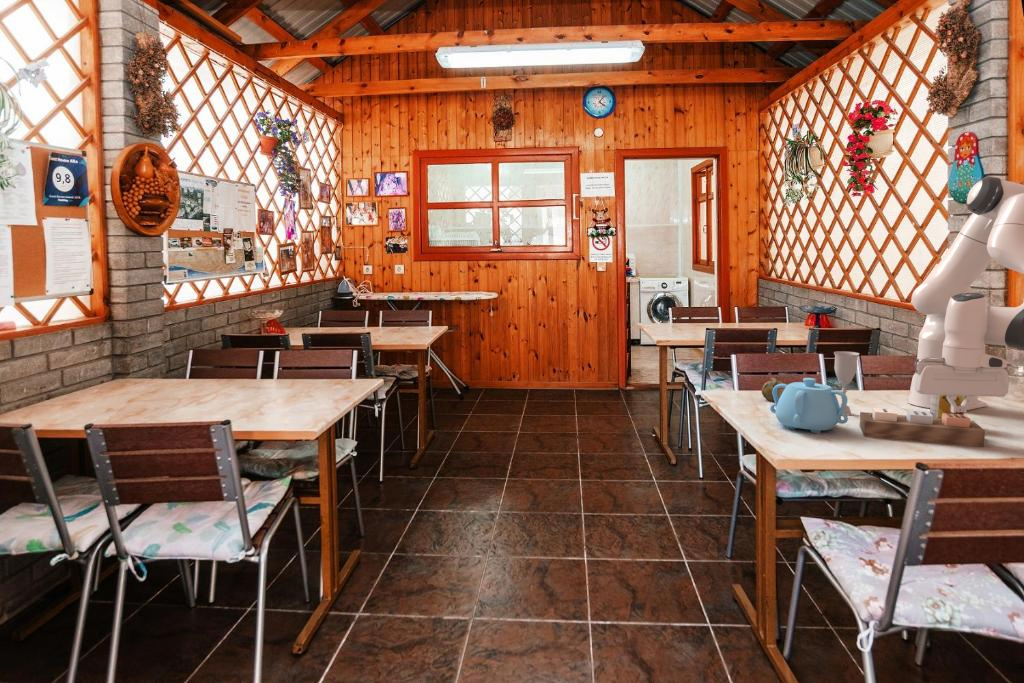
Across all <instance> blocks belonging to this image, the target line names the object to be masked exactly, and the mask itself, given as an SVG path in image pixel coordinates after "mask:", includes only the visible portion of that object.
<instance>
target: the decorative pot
mask: <svg viewBox="0 0 1024 683" xmlns="http://www.w3.org/2000/svg"><path fill="white" fill-rule="evenodd" d="M802 381H803V382H802ZM802 381H797V382H796V381H795V382H791V383H788V384H787V383H784V384H778V385H776V386H775V387H774V388H773V391H772V393H773V398H774V401H773V402H774V403H773V404H772V403H771V405H770V408H769V409H770V412H771V413H772V414H774V415H775V417H776V419H777V421H778V422H779V423H780V424H781V425H783V426H785V429H787V428H789V429H788V430H796V429H803V430H809V431H810V433H812V432H813V433H812V434H822V431H829V430H832V429H834V427H836V425H837V424H841V425H842V424H846V423H847V422H848V421H849V417H848V415H846V414H842V413H843V411H844V409H845V407H846V405H847V406H848V397H847V394H844V393H843V392H842V391H841V390H838V389H833V387H832V386H831V385H827V384H821V383H817V379H816V378H812V377H804V378H803V379H802ZM780 387H783V388H785V389H784V391H783V393H782V395H781V397H780V399H778V395H777V389H778V388H780ZM837 395H838V396H840V398H841V397H842V399H843V402H842V401H841V402H842V405H841V407H840V406H839V405H840V403H839V400H838V398H837ZM842 399H841V400H842ZM842 417H843V419H842Z"/></svg>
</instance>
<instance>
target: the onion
mask: <svg viewBox="0 0 1024 683" xmlns="http://www.w3.org/2000/svg"><path fill="white" fill-rule="evenodd" d="M778 384H785V383H784V382H783V381H782V380H779V379H778V378H775V377H774V376H771V377H770V380H769V381H766V382H765V383H764V384H763V385H762V387H761V394H762V397H763V398H764V399H765V400H767V401H769V402H775V401H774V398H773V393H772V391H773V388H774V387H775V386H776V385H778ZM784 389H785V388H783V387H780V388H778V389H777V395H778V399H780V397H781V395H782V393H783V391H784Z"/></svg>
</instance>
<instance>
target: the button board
mask: <svg viewBox="0 0 1024 683" xmlns="http://www.w3.org/2000/svg"><path fill="white" fill-rule="evenodd" d="M872 413H873V412H864V411H860V413H859V424H858V425H859V426H858V427H859V428H860V431H861V432H862V435H863V437H866V438H876V439H877V438H878V439H888V440H902V441H913V442H922V443H923V442H924V443H933V444H934V443H935V444H946V445H957V446H968V447H979V448H984V446H985V441H986V440H985V438H986V430H985V429H984V428H983V427H981V426H980V425H979V424H978V423H977V422H975V421H974V420H970V427H957V426H945V425H944V424H943V423H942V418H933V424H920V423H908V421H907V420H906V418H907V415H904V414H897V422H896V421H883V420H873V419H872Z"/></svg>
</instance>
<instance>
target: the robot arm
mask: <svg viewBox="0 0 1024 683" xmlns="http://www.w3.org/2000/svg"><path fill="white" fill-rule="evenodd" d="M965 206H966V207H967V210H969V211H970V212H971V215H970V216H969V217H968V219H967V220H966V221H965V223H964V224H963V226H962V227H961V229H960V231H959V232H958V234H957V236H956V237H955V238H954V241H953V242H952V243H951V245H950V247H949V248H948V250H947V252H946V253H945V255H943V257H942V259H941V260H940V261H939V262H938V263H937V265H936V266H935V267H934V268H933V269H932V270H931V272H930V273H929V274H928V275H927V277H925V279H924V280H923V281H922V282H921V283H920V284H919V285H918V286H917V287H916V288H915V289H914V290H913V292H912V294H911V304H912V307H914V309H915V310H916V311H917V312H919V313H920V314H923V315H925V316H926V318H925V320H924V323H923V326H922V328H921V330H920V331H919V334H918V346H917V356H916V358H915V362H914V370H915V373H914V374H913V375H912V378H911V379H912V380H911V384H910V390H909V395H906V400H907V403H909V404H911V405H913V406H917V407H922V408H928V409H930V403H931V395H947V400H948V401H949V403H950V405H951V412H952V413H964V414H967V411H970V410H974V409H981V408H984V407H987V402H985V401H982V400H978V399H979V397H993V398H994V397H999V398H1000V397H1001V398H1003V397H1006V395H1007V394H1008V393H1009V386H1010V382H1009V381H1010V379H1009V378H1010V377H1009V373H1008V371H1007V370H1006V369H1005V368H1007V366H1008V361H1007V359H1004V358H1002V357H998V356H996V355H993V354H991V353H987V352H986V345H995V346H1005V347H1009V348H1010V347H1011V348H1014V349H1021V350H1024V299H1023V300H1022V301H1023V302H1022V303H1021V304H1020V305H1019V306H1015V307H1011V306H997V305H995V306H994V305H990V304H989V303H988V300H987V296H986V295H985V294H983V293H980V292H979V293H978V292H974V290H973V288H972V286H971V285H972V284H973V283H974V282H975V280H977V279H978V278H979V276H981V275H982V274H983V273H984V272H986V269H987V268H988V266H989V265H990V264H991V261H994V262H996V263H997V264H998V265H1001V266H1002V267H1003V268H1006V269H1009V270H1012V271H1014V272H1018V273H1020V274H1022V275H1024V184H1022V183H1018V182H1015V181H1010V180H1009V181H1008V180H1004V179H1001V178H999V177H993V176H985V177H982V178H981V179H978V181H976V183H975V184H973V186H972V187H971V188H970V190H969V191H968V194H967V197H966V200H965ZM957 395H961V396H963V398H964V401H963V402H962V404H961V405H956V403H955V401H954V400H956V398H957Z"/></svg>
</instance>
